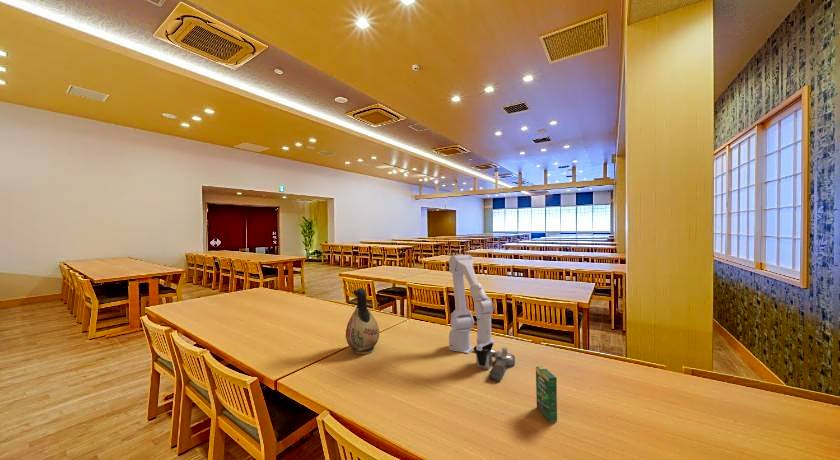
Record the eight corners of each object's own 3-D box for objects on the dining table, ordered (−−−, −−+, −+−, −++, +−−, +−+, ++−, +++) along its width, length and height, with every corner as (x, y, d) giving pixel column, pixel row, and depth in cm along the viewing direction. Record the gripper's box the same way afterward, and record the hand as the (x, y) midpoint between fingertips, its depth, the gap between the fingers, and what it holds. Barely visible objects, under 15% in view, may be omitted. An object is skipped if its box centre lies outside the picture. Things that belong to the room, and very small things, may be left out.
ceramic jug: (342, 347, 147) (341, 285, 146) (374, 342, 153) (373, 282, 153) (350, 362, 131) (349, 292, 131) (385, 355, 138) (384, 288, 137)
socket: (476, 367, 125) (476, 353, 125) (480, 361, 130) (480, 349, 130) (488, 369, 123) (488, 356, 123) (492, 364, 128) (492, 351, 127)
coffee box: (535, 406, 98) (535, 365, 98) (543, 405, 98) (543, 365, 98) (548, 422, 90) (548, 378, 90) (557, 422, 90) (557, 377, 90)
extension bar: (472, 351, 141) (472, 347, 140) (473, 350, 142) (473, 346, 142) (500, 357, 135) (500, 353, 134) (501, 355, 136) (501, 351, 136)
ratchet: (484, 378, 116) (484, 362, 116) (497, 357, 134) (497, 343, 134) (505, 383, 112) (505, 366, 112) (516, 361, 130) (516, 346, 130)
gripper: (488, 336, 118) (489, 371, 118) (498, 325, 131) (498, 356, 131) (471, 333, 121) (471, 367, 122) (482, 322, 134) (482, 353, 134)
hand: (484, 361), depth 127 cm, fingers open, 6 cm apart
